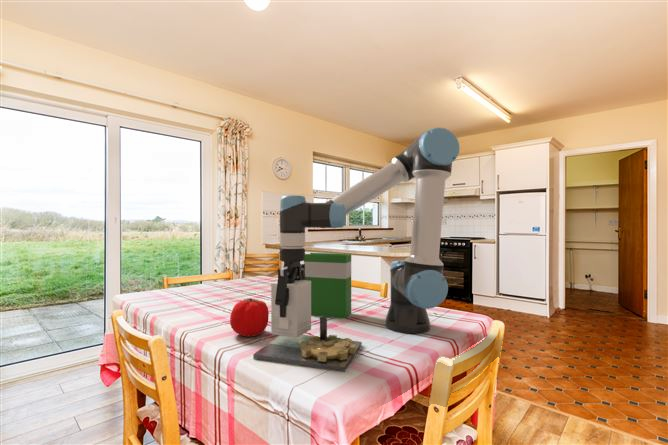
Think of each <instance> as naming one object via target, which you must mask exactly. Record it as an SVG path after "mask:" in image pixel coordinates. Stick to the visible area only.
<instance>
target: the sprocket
mask: <svg viewBox="0 0 668 445" xmlns="http://www.w3.org/2000/svg"><path fill="white" fill-rule="evenodd" d="M313 336H314V335H313ZM352 341H353V339H352V338H348V337H345V338H341V337H338V336H337V335H335V334H329V335H328V317H325V316H319V336H318V335H315V336H314V337H311V340H309V341H302V342H301V344H300V350H302V355H303V356H304V357H306V358H307V357H314V358H318V361H323V362H326V361H327V359H339V360H344V359H348V354H349V353H351V354H355V352H356V345H354V344H352Z"/></svg>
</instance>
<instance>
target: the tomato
mask: <svg viewBox="0 0 668 445" xmlns="http://www.w3.org/2000/svg"><path fill="white" fill-rule="evenodd" d="M269 314H270V313H269V308H268V305H267V303H266V302H265V301H263V300H259V299H255V298H245V299H243V300H239V302H238V301H237V303H235V304H234V306H233V307H232V310H231V312H230V318H229V323H230V324H229V325H230V326H231V327H230V328H231V329H232V330H233V332H234V333H236V334H238V335H240V336H244V337H247V338H249V337H256V336H258V335H261V334H262V333H264V332H265V330H266V328H267V326H268V323H269V318H270V316H269Z"/></svg>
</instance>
